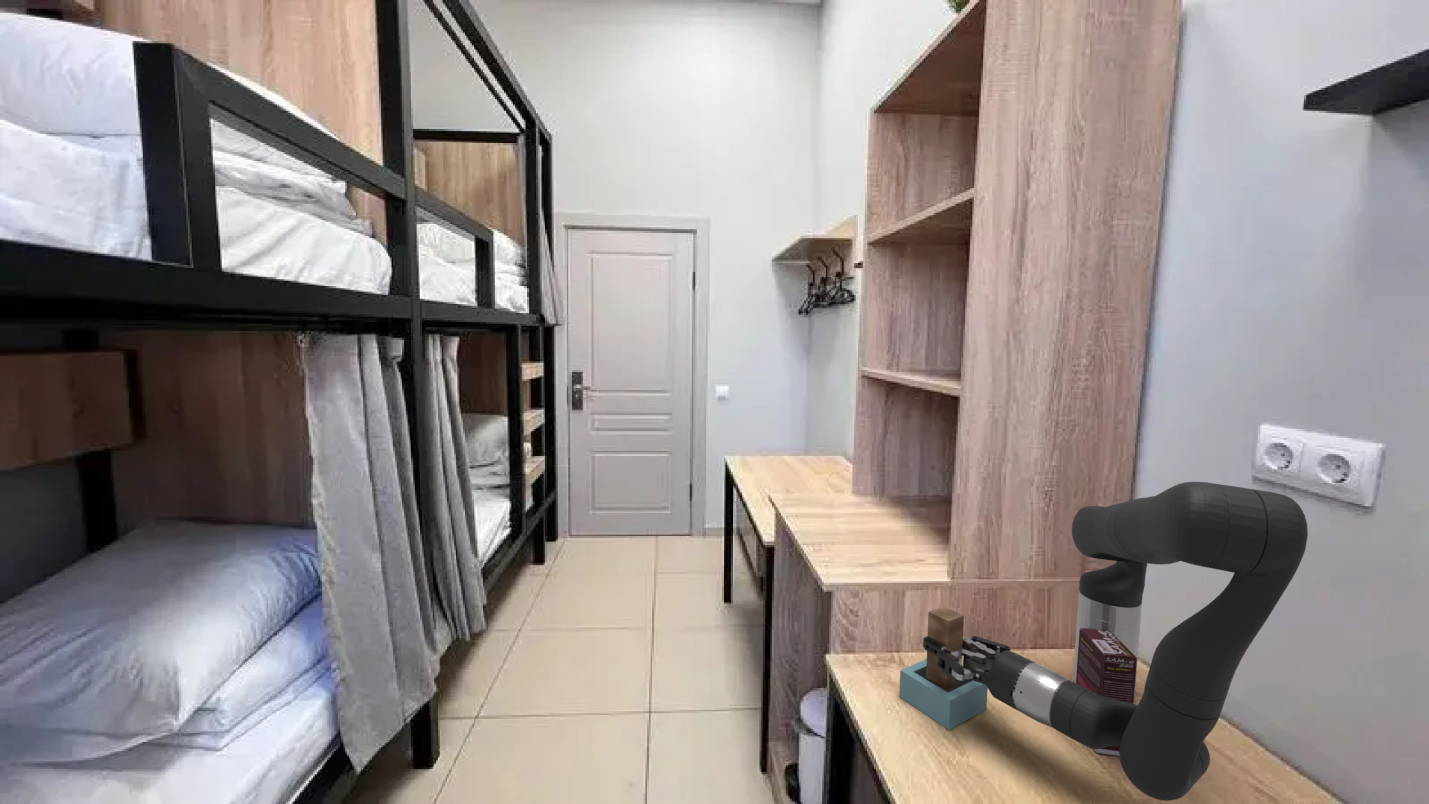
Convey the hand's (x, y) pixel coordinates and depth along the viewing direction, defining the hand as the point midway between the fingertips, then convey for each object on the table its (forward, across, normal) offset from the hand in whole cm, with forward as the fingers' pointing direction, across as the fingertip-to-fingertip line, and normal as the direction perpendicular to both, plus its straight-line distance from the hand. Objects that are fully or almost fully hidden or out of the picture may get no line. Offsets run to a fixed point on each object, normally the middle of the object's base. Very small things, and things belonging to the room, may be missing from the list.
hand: (933, 638), depth 98 cm
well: (-2, 0, +11) cm, 11 cm away
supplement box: (-21, -14, +11) cm, 27 cm away
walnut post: (-2, 0, +8) cm, 9 cm away
